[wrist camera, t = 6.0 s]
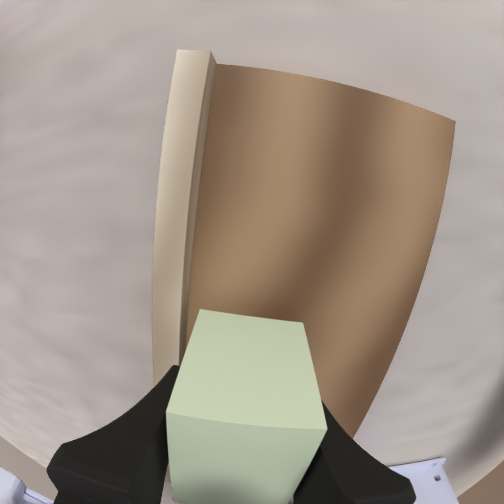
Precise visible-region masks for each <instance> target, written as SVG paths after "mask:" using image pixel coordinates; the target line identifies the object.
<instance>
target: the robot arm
mask: <svg viewBox="0 0 504 504" xmlns="http://www.w3.org/2000/svg"><path fill="white" fill-rule="evenodd" d="M180 367H181V366H178V365H173V366H171V368H170V369H169V370H168V372H167V373H166V374H165V375H164V377H163V378H162V379H161V380H160V381H159V382H158V383H157V385H156V386H155V387H154V388H153V389H152V390H151V391H150V392H149V393H148V394H147V395H146V396H145V397H144V398H143V399H141V400H140V401H139V402H138V403H137V404H136V405H135V406H133V407H132V408H131V409H130V410H128V411H127V412H126V413H124V414H123V415H122V416H120V417H119V418H117V419H116V420H114V421H113V422H111V423H109V424H108V425H106V426H104V427H102V428H101V429H98V430H96V431H94V432H92V433H90V434H88V435H86V436H84V437H81V438H78V439H76V440H73V441H70V442H67V443H63V444H62V445H61V446H60V447H59V449H58V450H57V451H56V453H55V454H54V456H53V458H52V459H51V461H50V463H49V465H48V467H47V473H48V476H49V478H50V479H51V481H52V482H53V484H54V485H55V487H56V488H57V490H58V491H59V492H58V494H57V496H56V498H55V501H53V500H51V499H49V498H47V497H45V496H43V495H41V494H39V493H36V492H35V491H33V490H31V489H29V488H27V487H26V486H25V484H24V483H23V481H22V480H21V479H20V478H19V477H17V476H16V475H14V474H13V473H11V472H9V471H8V470H6V469H4V468H2V467H1V466H0V504H160V502H161V497H162V491H163V486H164V481H165V476H166V471H167V467H168V463H169V455H168V440H167V423H166V410H167V407H168V404H169V401H170V398H171V395H172V391H173V388H174V385H175V382H176V379H177V376H178V373H179V370H180ZM321 402H322V406H323V411H324V415H325V420H326V425H327V431H326V433H325V435H324V437H323V439H322V441H321V443H320V445H319V447H318V449H317V451H316V453H315V455H314V457H313V459H312V461H311V463H310V465H309V467H308V469H307V470H306V472H305V474H304V476H303V478H302V480H301V481H300V483H299V485H298V487H297V488H296V490H295V492H294V494H293V504H459V503H458V500H457V498H456V496H455V493H454V491H453V489H452V486H451V484H450V482H449V480H448V477H447V475H446V473H445V471H444V469H443V466H442V465H443V464H444V463H445V462H446V459H445V457H442V458H437V459H432V460H427V461H422V462H416V463H410V464H404V465H397V466H390V467H387V466H385V465H384V464H382V463H380V462H379V461H378V460H376V459H375V458H374V457H372V456H371V455H370V454H369V453H367V452H366V451H365V450H364V449H362V448H361V447H360V446H359V445H358V444H357V443H356V442H355V441H354V440H353V439H352V438H351V437H350V436H349V435H348V434H347V433H346V432H345V430H344V429H343V428H342V427H341V426H340V424H339V423H338V422H337V421H336V419H335V418H334V417H333V415H332V414H331V413H330V411H329V410H328V408H327V407H326V405H325V404H324V402H323V401H322V399H321Z"/></svg>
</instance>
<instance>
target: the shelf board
mask: <svg viewBox="0 0 504 504" xmlns="http://www.w3.org/2000/svg"><path fill="white" fill-rule="evenodd" d="M455 123H456V121H454V120H451V119H449V118H446V117H444V116H441V115H439V114H436V113H434V112H431V111H429V110H426V109H423V108H420V107H418V106H415V105H412V104H409V103H406V102H403V101H400V100H397V99H394V98H391V97H388V96H384V95H381V94H378V93H374V92H371V91H367V90H364V89H360V88H356V87H352V86H348V85H344V84H340V83H336V82H332V81H327V80H323V79H318V78H313V77H308V76H303V75H298V74H292V73H286V72H280V71H274V70H267V69H260V68H252V67H244V66H234V65H224V64H217V63H216V61H215V59H214V57H213V55H212V53H211V51H201V50H177V55H176V60H175V65H174V71H173V76H172V82H171V88H170V94H169V100H168V106H167V113H166V120H165V127H164V135H163V143H162V151H161V160H160V169H159V179H158V190H157V202H156V216H155V231H154V251H153V280H152V345H153V374H154V387H155V386H156V385H157V383H158V382H159V381H160V380H161V379H162V378H163V377H164V375H165V374H166V373H167V372H168V370H169V369H170V368H171V366H173V365H178V366H181V364H182V361H183V358H184V355H185V352H186V349H187V346H188V343H189V340H190V337H191V334H192V331H193V328H194V325H195V322H196V319H197V316H198V313H199V310H200V309H203V310H210V311H216V312H223V313H230V314H237V315H244V316H252V317H259V318H267V319H275V320H284V321H292V322H302V323H303V325H304V329H305V333H306V337H307V341H308V345H309V350H310V354H311V358H312V362H313V367H314V371H315V375H316V380H317V384H318V388H319V393H320V397H321V399H322V401H323V402H324V404H325V405H326V407H327V408H328V410H329V411H330V413H331V414H332V415H333V417H334V418H335V419H336V421H337V422H338V423H339V424H340V426H341V427H342V428H343V429H344V430H345V432H346V433H347V434H348V435H349V436H350V437H351V438H352V439H353V437H354V436H355V434H356V432H357V430H358V428H359V427H360V425H361V423H362V421H363V419H364V417H365V415H366V414H367V412H368V410H369V408H370V406H371V404H372V402H373V400H374V398H375V396H376V394H377V392H378V390H379V388H380V385H381V383H382V381H383V379H384V377H385V375H386V373H387V370H388V368H389V366H390V364H391V361H392V359H393V357H394V354H395V352H396V350H397V347H398V345H399V342H400V340H401V337H402V335H403V332H404V330H405V327H406V325H407V322H408V319H409V317H410V314H411V311H412V308H413V306H414V303H415V300H416V297H417V294H418V291H419V288H420V285H421V282H422V279H423V276H424V272H425V269H426V266H427V262H428V259H429V256H430V252H431V248H432V245H433V241H434V237H435V233H436V229H437V225H438V221H439V217H440V213H441V208H442V204H443V199H444V194H445V189H446V184H447V178H448V173H449V167H450V161H451V154H452V147H453V140H454V132H455ZM165 481H170V482H171V478H170V467H169V463H168V467H167V471H166V476H165Z"/></svg>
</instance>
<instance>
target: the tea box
mask: <svg viewBox="0 0 504 504" xmlns="http://www.w3.org/2000/svg"><path fill="white" fill-rule="evenodd" d="M166 423H167V440H168V455H169V467H170V478H171V488H172V498H173V501H175V502H180V503H185V504H288V502H289V500H290V499H291V497H292V495H293V494H294V492H295V490H296V488H297V487H298V485H299V483H300V481H301V480H302V478H303V476H304V474H305V472H306V470H307V469H308V467H309V465H310V463H311V461H312V459H313V457H314V455H315V453H316V451H317V449H318V447H319V445H320V443H321V441H322V439H323V437H324V435H325V433H326V431H327V425H326V420H325V415H324V411H323V406H322V402H321V397H320V393H319V388H318V384H317V380H316V375H315V371H314V367H313V362H312V358H311V354H310V350H309V345H308V341H307V337H306V333H305V329H304V325H303V323H302V322H292V321H284V320H275V319H267V318H259V317H252V316H244V315H237V314H230V313H223V312H216V311H210V310H203V309H200V310H199V313H198V316H197V319H196V322H195V325H194V328H193V331H192V334H191V337H190V340H189V343H188V346H187V349H186V352H185V355H184V358H183V361H182V364H181V367H180V370H179V373H178V376H177V379H176V382H175V385H174V388H173V391H172V395H171V398H170V401H169V404H168V407H167V410H166Z"/></svg>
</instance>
